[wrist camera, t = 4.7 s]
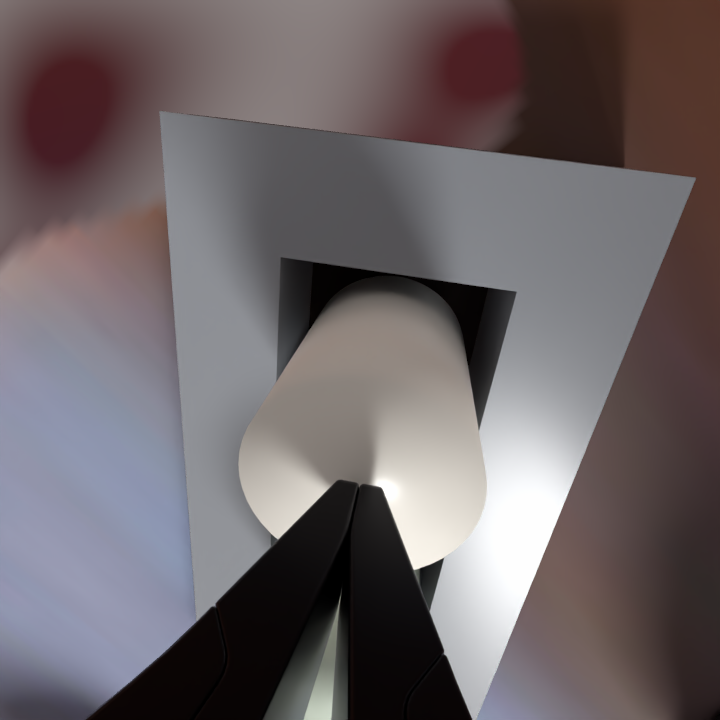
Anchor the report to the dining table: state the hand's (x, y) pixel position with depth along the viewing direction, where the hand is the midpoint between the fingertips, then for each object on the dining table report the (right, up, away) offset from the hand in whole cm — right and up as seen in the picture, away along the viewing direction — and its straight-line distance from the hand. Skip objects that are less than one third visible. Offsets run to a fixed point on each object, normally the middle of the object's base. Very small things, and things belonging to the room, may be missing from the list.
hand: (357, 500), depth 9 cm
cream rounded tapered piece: (+1, +3, +6) cm, 7 cm away
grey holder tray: (0, -3, +11) cm, 12 cm away
